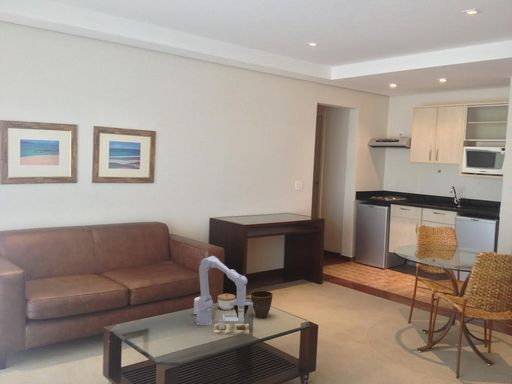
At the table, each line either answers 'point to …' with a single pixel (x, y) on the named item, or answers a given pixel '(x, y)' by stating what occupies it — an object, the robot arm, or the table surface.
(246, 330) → the wooden frame board
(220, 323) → the block
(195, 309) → the photo printer
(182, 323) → the table surface
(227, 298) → the lidded bowl
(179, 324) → the table surface
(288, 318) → the table surface
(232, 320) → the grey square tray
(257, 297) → the plant pot
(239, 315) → the loose billet
